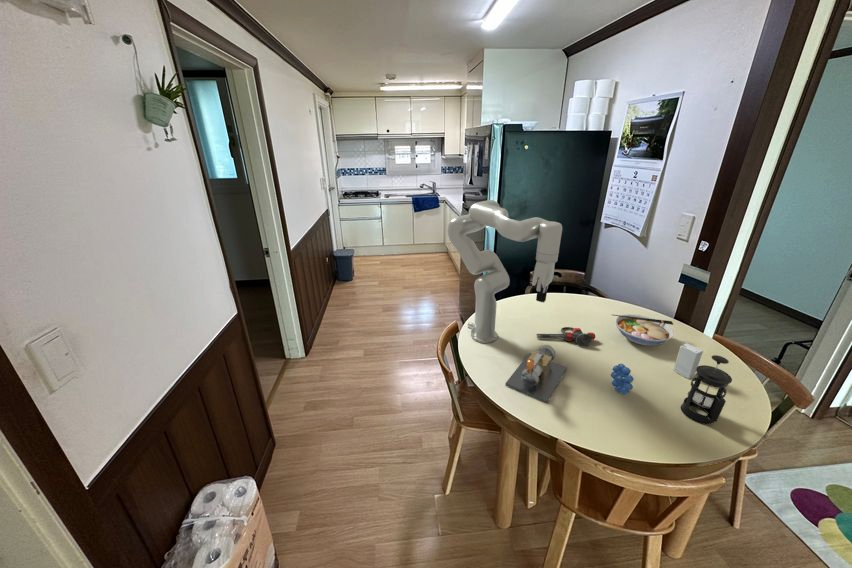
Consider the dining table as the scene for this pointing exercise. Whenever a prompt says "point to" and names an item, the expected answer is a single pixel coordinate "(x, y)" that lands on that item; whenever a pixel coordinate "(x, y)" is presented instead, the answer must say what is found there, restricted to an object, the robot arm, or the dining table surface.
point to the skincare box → (687, 360)
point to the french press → (704, 399)
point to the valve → (572, 336)
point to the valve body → (538, 376)
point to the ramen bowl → (644, 329)
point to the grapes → (622, 379)
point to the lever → (534, 361)
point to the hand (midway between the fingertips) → (540, 300)
